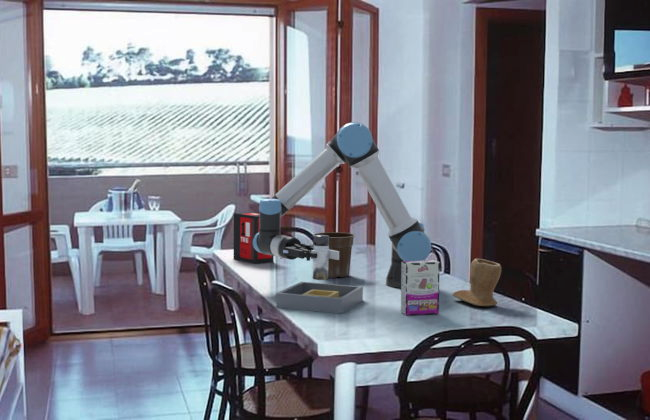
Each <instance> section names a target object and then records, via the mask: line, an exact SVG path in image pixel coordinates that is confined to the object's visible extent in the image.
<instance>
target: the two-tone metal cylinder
mask: <svg viewBox="0 0 650 420" xmlns="http://www.w3.org/2000/svg"><path fill="white" fill-rule="evenodd" d="M312 245H313V250H314V251H319V252H325V253H326V261H320V260H315V259H312V280H314V281H315V280H316V281H327V280H329V278H328V260H329V236H328V235H314V237H313V244H312Z"/></svg>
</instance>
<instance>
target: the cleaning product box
mask: <svg viewBox="0 0 650 420" xmlns="http://www.w3.org/2000/svg"><path fill="white" fill-rule="evenodd" d="M257 233H259V212H253V211H248V212H234V213H233V260H236V261H241V262H246V263H251V264H254V265H262V264H269V263H270V264H271V263H274V256H273V255H266V254H263V253H260V252H258V251H256V250H255V249H254V246H253V239H254V237H255V235H256V234H257ZM261 263H262V264H261Z"/></svg>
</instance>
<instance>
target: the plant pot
mask: <svg viewBox="0 0 650 420" xmlns="http://www.w3.org/2000/svg"><path fill="white" fill-rule="evenodd" d="M314 235H328V236H329V248H331V250H335V251H339V260H335V259H330V258H329V260H328V279H337V278H338V277H339V278H347V277H348V276H349V277H350V269H351V259H352V250H353V245H354V237H356V235H355V234H354V233H351V232H339V231H338V232H337V231H336V232H335V231H334V232H331V231H329V232H316V233H313V234H312V237H313V238H314Z"/></svg>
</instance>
